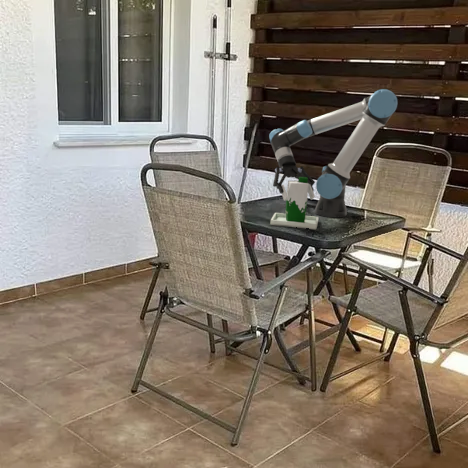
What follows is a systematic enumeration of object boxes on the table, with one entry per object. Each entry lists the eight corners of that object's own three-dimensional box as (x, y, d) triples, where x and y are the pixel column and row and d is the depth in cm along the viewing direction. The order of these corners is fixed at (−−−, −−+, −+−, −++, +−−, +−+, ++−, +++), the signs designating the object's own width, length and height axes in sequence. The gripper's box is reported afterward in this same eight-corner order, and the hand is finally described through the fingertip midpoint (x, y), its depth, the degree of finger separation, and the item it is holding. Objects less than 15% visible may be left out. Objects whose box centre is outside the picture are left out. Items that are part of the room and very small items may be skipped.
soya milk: (306, 224, 269) (310, 179, 264) (286, 223, 268) (289, 178, 263) (303, 220, 277) (306, 176, 272) (283, 219, 276) (286, 175, 272)
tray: (318, 221, 279) (318, 216, 278) (316, 229, 263) (316, 224, 263) (274, 217, 282) (275, 212, 281) (270, 224, 266) (270, 220, 266)
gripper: (305, 164, 285) (319, 202, 276) (258, 164, 275) (271, 204, 265) (312, 154, 279) (327, 193, 270) (264, 154, 269) (277, 194, 259)
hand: (299, 198), depth 268 cm, fingers open, 13 cm apart
